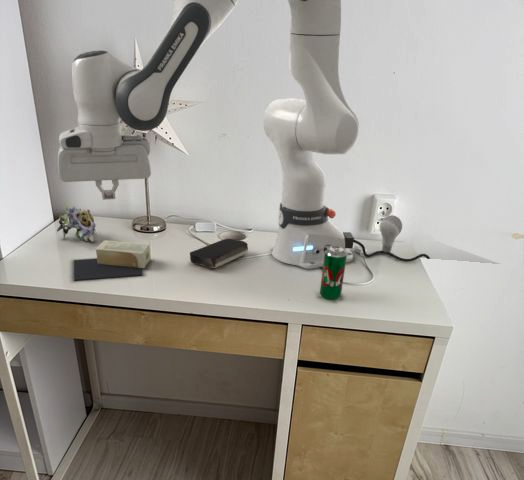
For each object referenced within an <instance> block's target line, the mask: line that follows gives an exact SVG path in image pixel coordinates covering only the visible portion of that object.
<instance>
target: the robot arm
mask: <svg viewBox="0 0 524 480" xmlns="http://www.w3.org/2000/svg"><path fill="white" fill-rule="evenodd" d="M239 1H240V0H173V12H172V18H171V21H170V24H169V27H168V29H167V31H166V33H165V34H164V37H163V38H162V39H161V41H160V43H159V44H158V46H157V47H156V48H155V51H154V52H153V53H152V55H151V56H150V58H149V60H148V61H147V63H146V64H145V65H144V67H143V68H142V69H139V68H136V67H134V66H131V65H129V64H126V63H125V62H123V61H121V60H119V59H118V58H116V57H114V56H113V55H112V54H111V53H110V52H108V51H107V50H103V49H102V50H91V51H86V52H83V53H80V54H78V55H77V56H76V57H75V58H74V59H73V60H72V63H71V84H72V93H73V98H74V102H75V104H76V107H77V113H78V114H77V126H76V127H73V128H71V129H68V130H65V131H61V133H60V134H59V136H58V142H59V145H60V147H59V148H58V153H57V172H58V178H59V180H61V181H62V182H63V183H73V182H74V183H75V182H77V183H78V182H95V186H96V188H97V189H98V190H99V192H100V193H101V198H102V200H103V201H104V200H116V191H117V190H118V187H119V181H122V180H145V179H149V178H151V177H150V176H151V175H152V169H151V163H150V158H149V155H150V153H151V144H150V141H149V140H148V138H146V137H144V136H143V135H141V134H136V135H129V134H128V135H122V126H121V121H122V122H123V123H124V124H125V125H126V126H128V127H129V128H131V129H133V130H136V131H140V132H147V131H153V130H154V129H157V128H158V127H159V126H160V125H161V124H162V123H163V122H164V120H165V118H166V116H167V114H168V113H167V112H168V110H169V109H168V108H169V103H170V98H171V95H172V92H173V90H174V87H175V86H176V84H177V83H178V81H179V80H180V78H181V76H182V75H183V74H184V73H185V71H186V69H187V67H188V66H189V64H190V62H191V61H192V59H194V57H195V55H196V53H197V52H198V50H199V49H200V48H201V47H202V46H203V44H204V43H205V42H206V41H207V40H208V39H209V38H210V37H211V36H212V35H213V34H214V32H215V31H217V29H218V28H220V26H221V25H222V24H223V23H224V21H225V20H226V19H227V18H228V17H229V16H230V15H231V13H232V12H233V10H234V9H235V7H236V6H237V5H238V3H239ZM287 2H288V5H289V9H290V15H291V19H290V35H289V62H288V69H289V73H290V75H291V77H292V79H293V80H294V81H295V82H296V83H297V84H298V85H299V87H300V88H301V90H302V92H303V95H304V99H300V98H295V97H294V98H293V97H289V98H288V97H287V98H280V99H279V98H278V99H274V100H273V101H271V102H270V103H269V105H268V106H267V107H266V109H265V112H264V115H263V119H262V120H263V121H262V123H263V124H262V125H263V129H264V132H265V135H266V136H267V137H268V139H269V140H270V141H271V143H272V145H273V147H274V148H275V151H276V153H277V156H278V159H279V162H280V163H279V164H280V166H281V167H280V168H281V174H282V183H281V184H282V185H281V186H282V189H281V202H280V203H279V208H278V215H277V216H278V217H277V218H278V222H277V223H278V231H277V235H276V239H275V243H274V246H273V249H272V250H271V251H272V252H271V255H272V257H273V258H274V259H276V260H277V261H279V262H281V263H284V264H287V265H292V266H298V267H301V268H303V269H305V270H306V269H307V270H312V269H317V268H323V263H324V255H325V251H326V250H327V247H329V246H340V247H343V248H345V249H346V253H347V258H346V263H350V262H353V260H354V254H353V252H352V251H351V249H353V248H354V244H357V245H358V246H360V247H361V250H362V254H363V257H366V258H371V257H374V256H376V255H378V254H385V255H388V256H389V257H392V258H394V259H395V260H398V261H401V262H414V261H416V260H418V259H420V258H422V257H425V258H426V259H428V260H429V259H431V257H430V256H429V255H428V254H427V253H420V254H418V255H416V256H414V257H411V258H403V257H401V256H397V255H396V254H394V253H393V252H384V251H382V250H376V251H374V252H372V253H370V254H368V253H367V251H366V247H365V246H364V245H365V244H363V243H362V242H360V241H358V240H357V239H355V237H354V235H353V233H352V232H350V231H348V232H347V231H341V230H340V229H339V227H337V226H336V225H335V223H333V222H332V221H330V220H329V219H334V218H335V217H336V215H337V214H336V211H335V210H334V209H332V208H329V207H327V206H326V205H325V194H326V185H327V176H326V174H325V172H324V170H323V169H322V168H321V167H320V166H319V165H318V162H316V159H315V157H314V153H316V154H321V155H325V156H343V155H346V154H348V153H349V152H351V150H352V149H353V148H354V146H355V145H356V143H357V141H358V139H359V135H360V124H359V119H358V117H357V115H356V113H355V112H354V111H353V110H352V109H351V107H350V105H348V103H347V100H346V99H345V96H344V93H343V90H342V86H341V81H340V76H339V75H340V74H339V62H340V61H339V60H340V59H339V58H340V42H341V30H342V29H341V27H342V0H287ZM103 181H111V184H112V187H111V189H104V188H103V186H102V185H103Z"/></svg>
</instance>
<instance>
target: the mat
mask: <svg viewBox="0 0 524 480" xmlns="http://www.w3.org/2000/svg"><path fill="white" fill-rule="evenodd" d="M141 276H143V271H142V268H135V267H124V266H113V265H103V264H98V260H97V258H85V259H84V258H83V259H74V260H73V281H74V282H76V281H77V282H79V281H90V280H101V279H102V280H103V279H116V278H127V277H129V278H130V277H141Z"/></svg>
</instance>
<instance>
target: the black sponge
mask: <svg viewBox="0 0 524 480" xmlns="http://www.w3.org/2000/svg"><path fill="white" fill-rule="evenodd" d="M248 245H249V244H248V242H247V241H245V240H241V239H233V238H224V239H221V240H218V241H215V242H213V243H211V244H208V245H205V246H202V247H200V248H198V249H195V250H193V251H190V252H189V256H190V257H189V260H190V262H191V263H192V264H195V265H199V266H203V267H205V268H211V269H216V268H218V267H221V266H223V265H225V264H227V263H229V262H232V261H233V260H236V259H238V258H240V257H242V256H244V255H246V254H248V251H249V246H248Z"/></svg>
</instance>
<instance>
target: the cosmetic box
mask: <svg viewBox="0 0 524 480" xmlns="http://www.w3.org/2000/svg"><path fill="white" fill-rule="evenodd" d="M95 253H96V259H97V260H98V264H103V265H113V266H124V267H135V268H141V269H145V268H146V266H147V265H148V264H149V262H150V261H151V260H152V258H151V245H150V243H140V242H129V241H128V242H127V241H118V240H106V239H104V240H103V241H102V242H101V243H100V244H99V245H98V246H97V247H96V248H95Z"/></svg>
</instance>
